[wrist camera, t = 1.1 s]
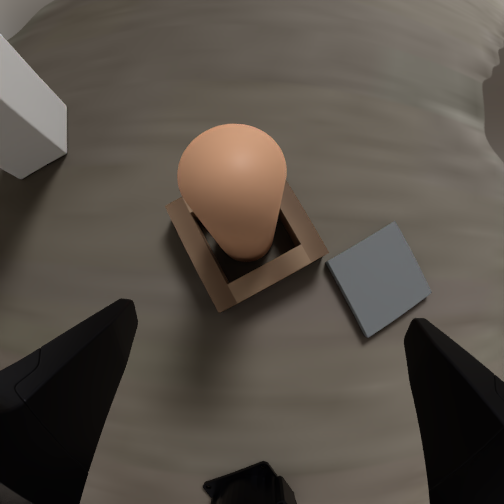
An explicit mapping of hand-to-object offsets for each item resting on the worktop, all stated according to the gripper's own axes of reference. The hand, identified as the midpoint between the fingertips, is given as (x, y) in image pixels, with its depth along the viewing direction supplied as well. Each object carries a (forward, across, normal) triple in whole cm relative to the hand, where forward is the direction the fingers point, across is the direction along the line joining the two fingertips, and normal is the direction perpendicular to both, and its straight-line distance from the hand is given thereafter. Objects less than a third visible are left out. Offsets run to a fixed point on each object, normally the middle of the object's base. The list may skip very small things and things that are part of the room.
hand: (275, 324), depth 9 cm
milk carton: (+21, +26, -3) cm, 34 cm away
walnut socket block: (+15, +2, +4) cm, 16 cm away
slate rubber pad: (+14, -9, +7) cm, 18 cm away
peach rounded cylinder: (+15, +2, +4) cm, 16 cm away
